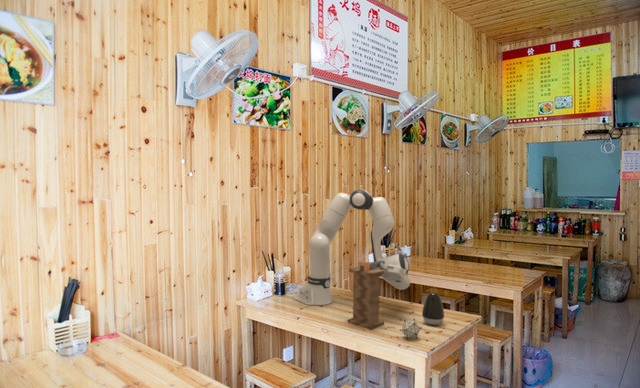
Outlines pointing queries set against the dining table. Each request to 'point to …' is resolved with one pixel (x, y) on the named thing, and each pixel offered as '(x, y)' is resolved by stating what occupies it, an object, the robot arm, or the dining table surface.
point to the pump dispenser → (433, 309)
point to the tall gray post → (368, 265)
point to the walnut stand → (366, 298)
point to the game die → (411, 329)
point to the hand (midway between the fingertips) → (377, 263)
